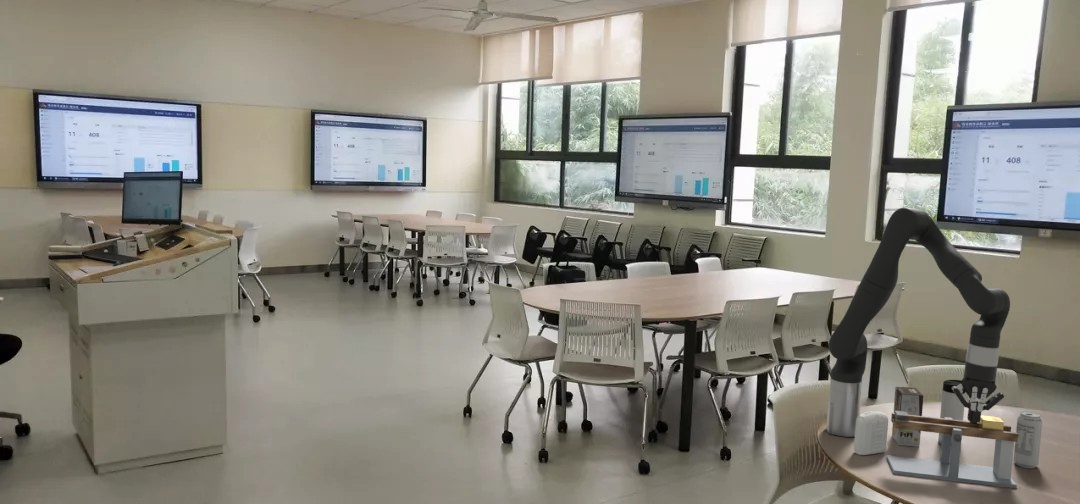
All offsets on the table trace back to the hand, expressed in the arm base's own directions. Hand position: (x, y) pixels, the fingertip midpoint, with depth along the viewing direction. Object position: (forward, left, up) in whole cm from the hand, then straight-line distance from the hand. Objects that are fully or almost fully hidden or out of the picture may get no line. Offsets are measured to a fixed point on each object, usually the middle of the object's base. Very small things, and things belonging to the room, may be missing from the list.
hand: (973, 423), depth 212 cm
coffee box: (-12, +24, -15) cm, 31 cm away
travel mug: (+1, +26, -15) cm, 30 cm away
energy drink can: (+18, +14, -15) cm, 27 cm away
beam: (-5, 0, -3) cm, 6 cm away
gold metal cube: (+4, 0, -2) cm, 5 cm away
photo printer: (-24, +10, -15) cm, 30 cm away
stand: (-5, 0, -15) cm, 16 cm away
